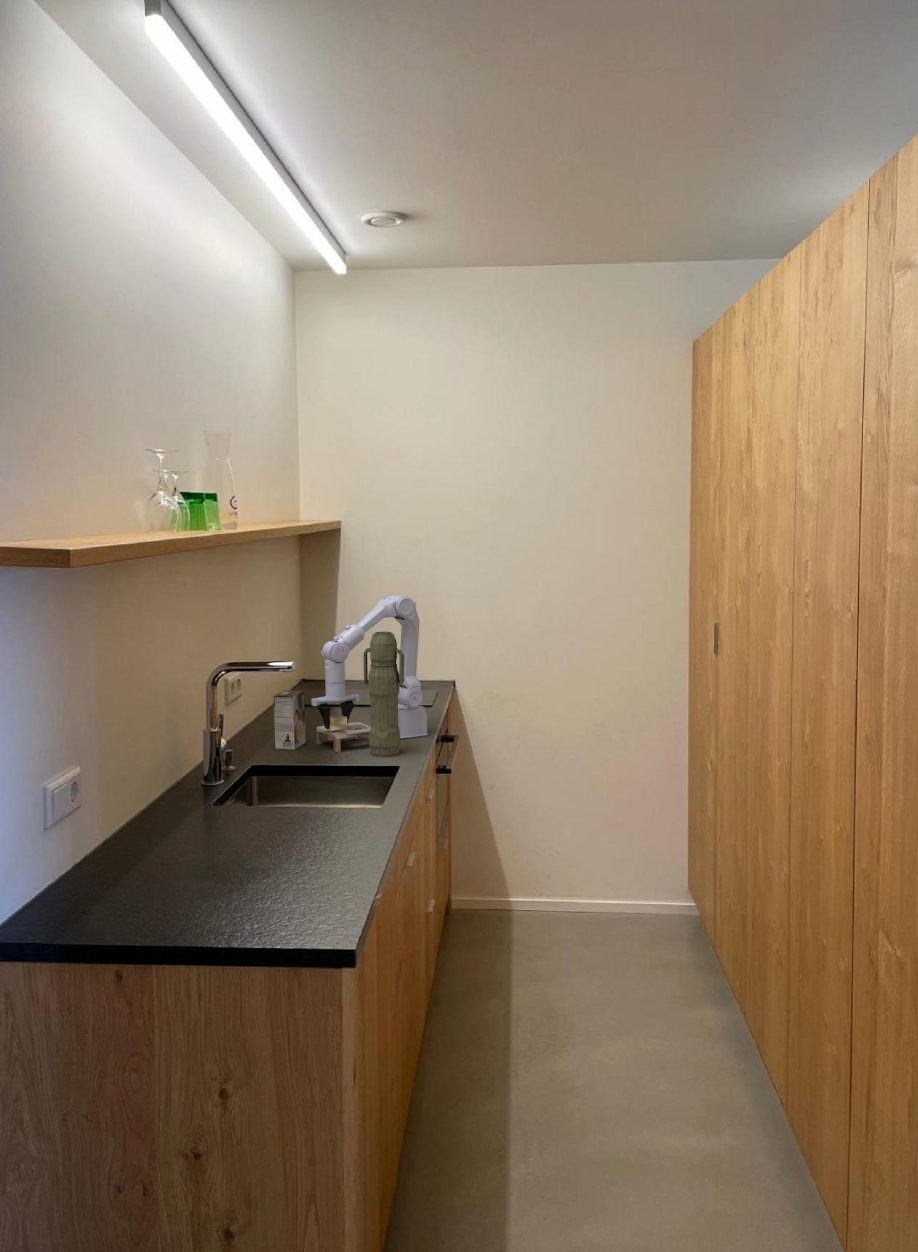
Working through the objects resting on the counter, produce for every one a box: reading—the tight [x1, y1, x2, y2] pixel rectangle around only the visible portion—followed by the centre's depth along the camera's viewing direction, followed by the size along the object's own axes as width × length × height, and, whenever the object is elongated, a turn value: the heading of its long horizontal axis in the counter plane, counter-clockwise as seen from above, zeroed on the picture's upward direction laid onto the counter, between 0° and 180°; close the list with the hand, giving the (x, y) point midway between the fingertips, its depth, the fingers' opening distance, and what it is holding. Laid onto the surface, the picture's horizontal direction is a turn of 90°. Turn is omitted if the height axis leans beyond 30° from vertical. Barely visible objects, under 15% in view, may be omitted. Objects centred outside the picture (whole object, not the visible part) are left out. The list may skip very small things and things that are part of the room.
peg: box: [327, 714, 348, 742], centre depth 285 cm, size 5×5×7 cm
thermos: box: [363, 631, 404, 758], centre depth 275 cm, size 9×12×35 cm
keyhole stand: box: [316, 721, 371, 753], centre depth 287 cm, size 14×14×5 cm
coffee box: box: [273, 689, 307, 750], centre depth 286 cm, size 9×6×16 cm
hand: (336, 727), depth 285 cm, fingers closed on peg, 5 cm apart
